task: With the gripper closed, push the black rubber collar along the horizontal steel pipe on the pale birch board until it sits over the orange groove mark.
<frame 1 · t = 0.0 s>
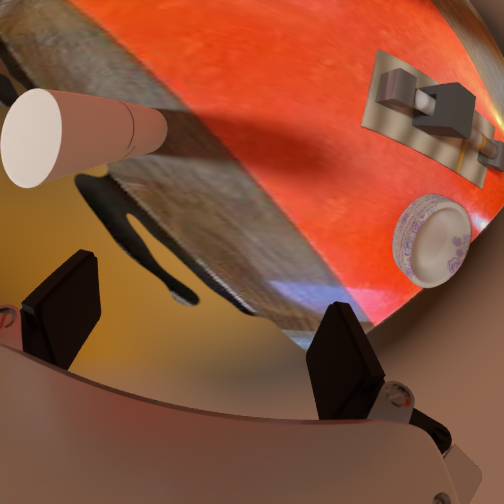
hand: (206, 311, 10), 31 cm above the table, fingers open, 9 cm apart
paper bowls: (417, 229, 42), on the table
collar: (443, 110, 28), point 7 cm above the table, slide at -5.0 cm
pipe rig: (440, 123, 34), on the table
cylindrical container: (145, 130, 35), on the table
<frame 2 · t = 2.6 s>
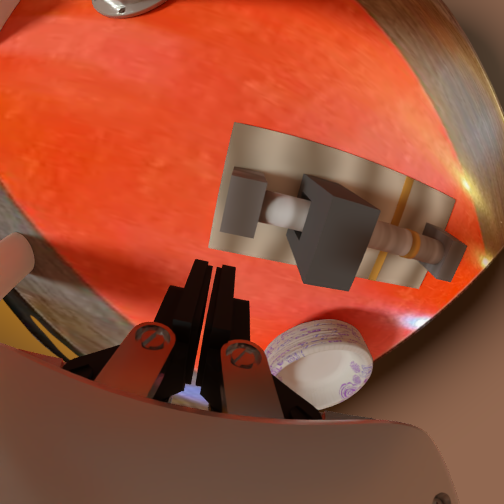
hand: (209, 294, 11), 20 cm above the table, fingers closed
paper bowls: (309, 343, 39), on the table
collar: (324, 225, 24), point 6 cm above the table, slide at -5.0 cm
pipe rig: (348, 216, 30), on the table
cylindrical container: (21, 252, 31), on the table
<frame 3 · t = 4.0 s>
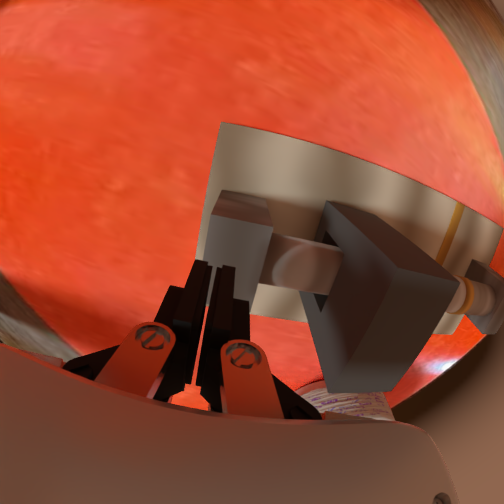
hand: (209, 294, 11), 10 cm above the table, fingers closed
paper bowls: (320, 399, 30), on the table
collar: (360, 287, 15), point 6 cm above the table, slide at -5.0 cm
pipe rig: (381, 256, 21), on the table
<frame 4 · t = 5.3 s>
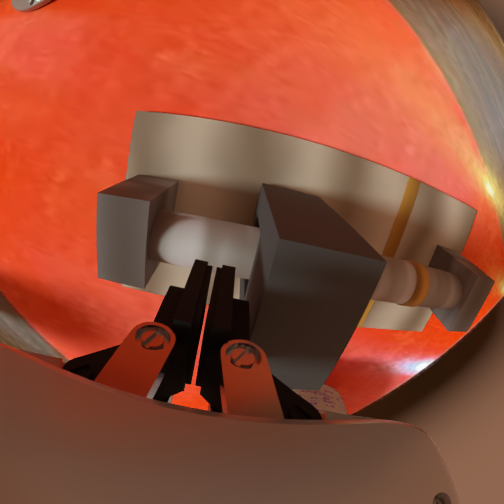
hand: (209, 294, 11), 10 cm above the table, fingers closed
paper bowls: (275, 396, 29), on the table
collar: (288, 271, 14), point 7 cm above the table, slide at -3.4 cm, touching gripper
pipe rig: (318, 239, 21), on the table
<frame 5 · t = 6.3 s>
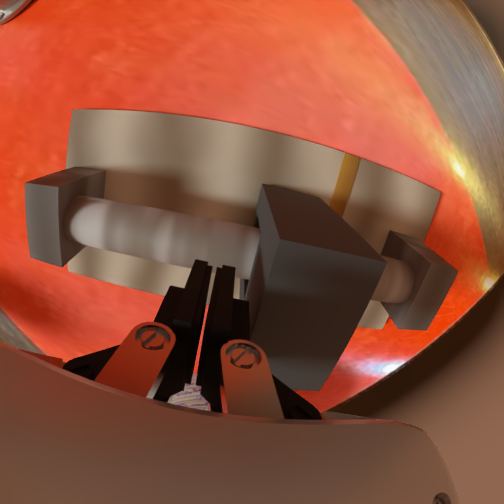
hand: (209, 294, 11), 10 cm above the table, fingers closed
paper bowls: (226, 391, 29), on the table
collar: (288, 272, 14), point 6 cm above the table, slide at 2.3 cm, touching gripper
pipe rig: (245, 224, 20), on the table
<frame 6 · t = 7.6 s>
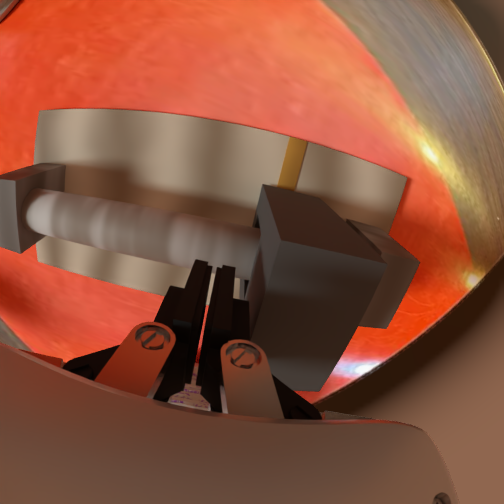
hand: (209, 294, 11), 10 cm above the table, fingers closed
paper bowls: (191, 385, 28), on the table
collar: (288, 272, 14), point 6 cm above the table, slide at 6.4 cm, touching gripper
pipe rig: (192, 214, 20), on the table
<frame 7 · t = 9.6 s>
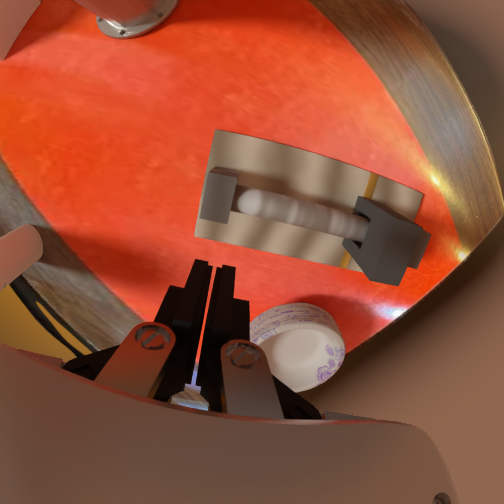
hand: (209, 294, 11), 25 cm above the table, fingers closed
paper bowls: (288, 328, 43), on the table
collar: (378, 237, 30), point 6 cm above the table, slide at 6.4 cm
pipe rig: (317, 209, 35), on the table
gable box: (4, 21, 17), on the table
cylindrical container: (30, 242, 36), on the table
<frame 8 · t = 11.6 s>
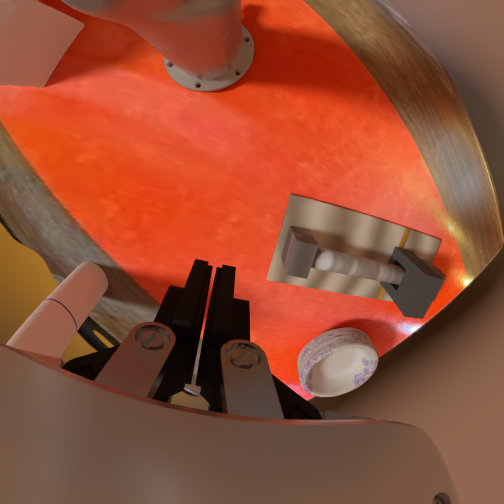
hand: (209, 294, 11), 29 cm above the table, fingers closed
paper bowls: (331, 345, 51), on the table
collar: (409, 281, 38), point 6 cm above the table, slide at 6.4 cm
pipe rig: (363, 256, 43), on the table
gable box: (37, 40, 24), on the table
cylindrical container: (92, 278, 44), on the table
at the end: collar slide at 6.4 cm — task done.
